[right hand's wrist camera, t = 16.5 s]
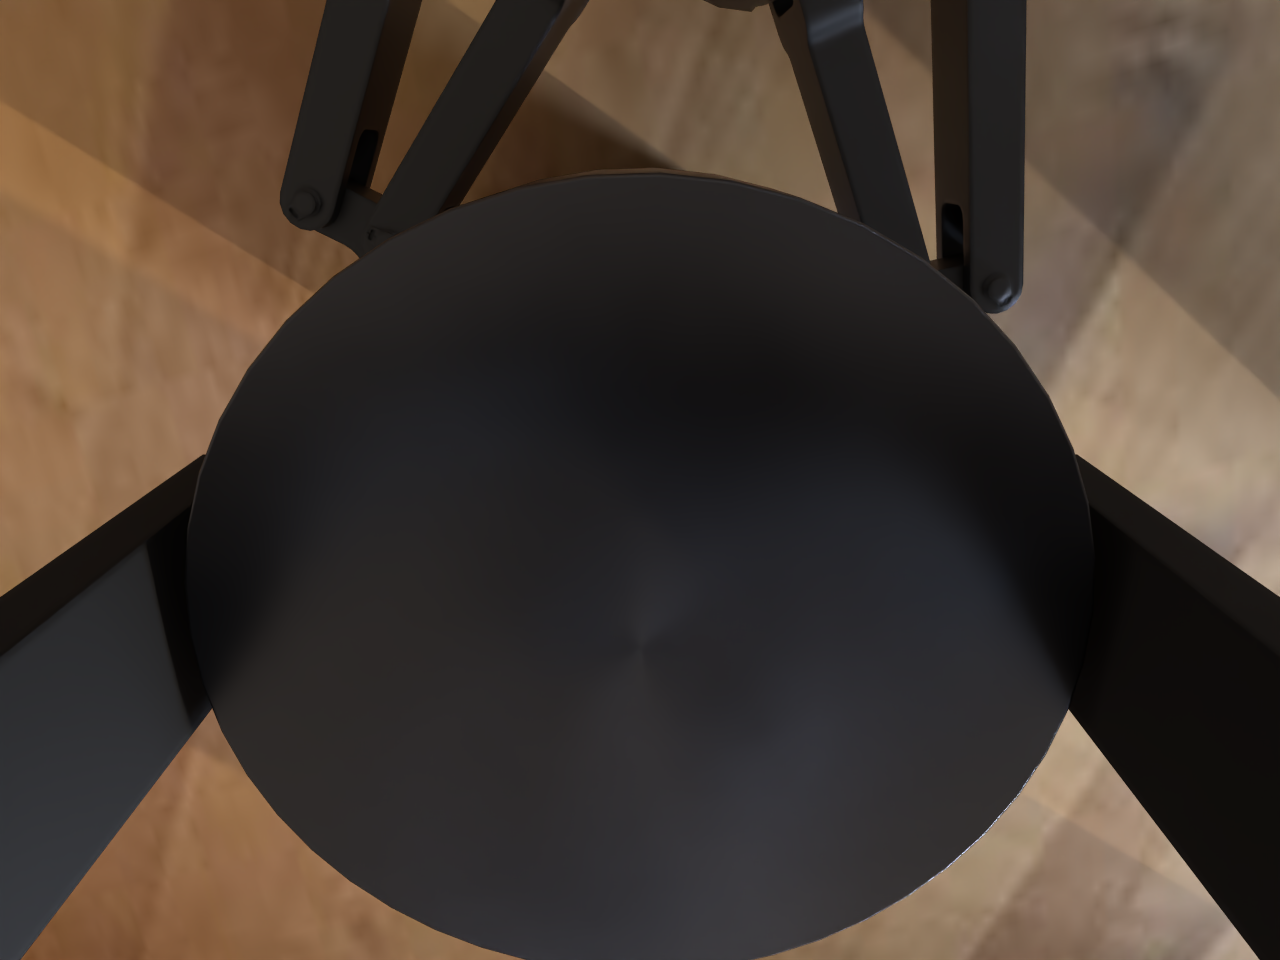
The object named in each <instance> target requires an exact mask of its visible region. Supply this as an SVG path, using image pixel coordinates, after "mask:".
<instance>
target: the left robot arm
mask: <svg viewBox="0 0 1280 960" xmlns="http://www.w3.org/2000/svg"><path fill="white" fill-rule="evenodd" d="M588 1H589V0H496V1H495V3H494V5H493V6H492V8H491V10H490V12H489V13H488V15H487V17H486V18H485V20H484V22H483V24H482V25H481V27H480V29H479V30H478V32H477V34H476V36H475V37H474V39H473V41H472V42H471V44H470V46H469V48H468V49H467V51H466V53H465V54H464V56H463V58H462V60H461V61H460V63H459V65H458V66H457V68H456V70H455V72H454V73H453V75H452V77H451V78H450V80H449V82H448V84H447V85H446V87H445V89H444V90H443V92H442V94H441V96H440V97H439V99H438V101H437V102H436V104H435V106H434V108H433V109H432V111H431V113H430V114H429V116H428V118H427V120H426V121H425V123H424V125H423V126H422V128H421V130H420V132H419V133H418V135H417V137H416V138H415V140H414V142H413V144H412V145H411V147H410V149H409V150H408V152H407V154H406V156H405V157H404V159H403V161H402V162H401V164H400V166H399V168H398V169H397V171H396V173H395V174H394V176H393V178H392V180H391V181H390V183H389V185H388V186H387V188H386V190H385V191H384V193H383V195H382V194H380V193H378V192H376V191H374V190H372V189H370V186H371V182H372V179H373V175H374V172H375V168H376V164H377V161H378V157H379V154H380V150H381V146H382V143H383V139H384V136H385V132H386V128H387V125H388V121H389V118H390V114H391V110H392V107H393V103H394V100H395V96H396V92H397V89H398V85H399V82H400V78H401V74H402V71H403V67H404V64H405V60H406V56H407V53H408V49H409V46H410V42H411V38H412V35H413V31H414V28H415V24H416V20H417V17H418V13H419V10H420V6H421V2H422V0H327V1H326V5H325V10H324V14H323V18H322V22H321V26H320V30H319V34H318V38H317V43H316V47H315V51H314V55H313V59H312V63H311V67H310V71H309V76H308V80H307V84H306V88H305V92H304V96H303V100H302V104H301V109H300V113H299V117H298V121H297V125H296V129H295V133H294V138H293V142H292V146H291V150H290V154H289V158H288V162H287V166H286V171H285V175H284V179H283V183H282V187H281V191H280V205H281V208H282V211H283V214H284V215H285V216H286V218H287V219H288V220H289V221H290V223H292V224H293V225H295V226H297V227H298V228H300V229H304V230H309V231H312V230H315V231H317V232H319V233H322V234H324V235H326V236H328V237H330V238H332V239H334V240H336V241H338V242H340V243H342V244H344V245H345V246H347V247H349V248H350V249H352V250H353V251H354V252H355V253H356V254H357V255H358V257H359V258H361V257H362V256H364V255H365V254H367V253H368V252H370V251H371V250H373V249H374V248H376V247H377V246H378V245H380V244H381V243H383V242H384V241H386V240H387V239H389V238H391V237H393V236H395V235H397V234H399V233H401V232H403V231H405V230H407V229H409V228H411V227H413V226H415V225H417V224H419V223H422V222H424V221H426V220H428V219H430V218H432V217H434V216H436V215H438V214H440V213H442V212H444V211H446V210H448V209H450V208H453V207H456V206H459V205H460V204H461V202H462V200H463V199H464V197H465V195H466V194H467V192H468V191H469V189H470V187H471V186H472V184H473V182H474V181H475V179H476V178H477V176H478V174H479V173H480V171H481V170H482V168H483V166H484V165H485V163H486V161H487V160H488V158H489V157H490V155H491V153H492V152H493V150H494V148H495V147H496V145H497V144H498V142H499V140H500V139H501V137H502V135H503V134H504V132H505V131H506V129H507V127H508V126H509V124H510V123H511V121H512V119H513V118H514V116H515V114H516V113H517V111H518V110H519V108H520V106H521V105H522V103H523V101H524V100H525V98H526V97H527V95H528V93H529V92H530V90H531V88H532V87H533V85H534V84H535V82H536V80H537V79H538V77H539V76H540V74H541V72H542V71H543V69H544V67H545V66H546V64H547V63H548V61H549V59H550V58H551V56H552V54H553V53H554V51H555V50H556V48H557V46H558V45H559V43H560V41H561V40H562V38H563V37H564V35H565V33H566V32H567V30H568V29H569V28H570V26H571V25H572V24H573V23H574V22H575V21H576V20H577V18H578V17H579V16H580V14H581V13H582V11H583V9H584V8H585V6H586V5H587V3H588ZM704 1H706V2H708V3H711V4H713V5H715V6H717V7H720V8H727V9H735V10H742V11H750V12H752V10H753V9H754V8H755V7H757V6H762V5H766V4H769V6H770V9H771V12H772V16H773V19H774V22H775V25H776V28H777V32H778V35H779V38H780V40H781V43H782V45H783V47H784V49H785V51H786V52H787V54H788V56H789V58H790V61H791V64H792V67H793V70H794V73H795V76H796V80H797V83H798V86H799V89H800V92H801V96H802V99H803V102H804V105H805V109H806V112H807V115H808V118H809V121H810V125H811V128H812V131H813V134H814V137H815V141H816V144H817V147H818V150H819V153H820V157H821V160H822V163H823V166H824V170H825V173H826V176H827V179H828V182H829V186H830V189H831V192H832V195H833V198H834V202H835V205H836V208H837V211H838V213H839V214H842V215H844V216H846V217H849V218H851V219H854V220H856V221H859V222H861V223H864V224H865V225H867V226H869V227H871V228H872V229H874V230H876V231H877V232H879V233H881V234H882V235H884V236H886V237H887V238H889V239H891V240H893V241H894V242H896V243H898V244H899V245H901V246H903V247H904V248H906V249H908V250H910V251H911V252H913V253H915V254H916V255H918V256H920V257H921V258H923V259H924V260H925V261H927V262H928V263H929V264H930V265H932V266H933V267H934V268H935V269H936V270H938V271H939V272H940V273H941V274H943V275H944V276H945V277H946V278H948V279H949V280H950V281H951V282H953V283H954V284H955V285H956V286H958V287H959V288H960V289H961V290H962V291H964V292H965V293H966V294H967V295H969V296H970V297H971V298H972V299H973V300H974V301H975V302H976V303H977V304H978V305H979V306H980V307H981V308H982V309H983V310H984V312H986V313H996V314H997V313H1000V312H1003V311H1006V310H1008V309H1009V308H1010V307H1011V306H1013V305H1014V304H1015V303H1016V301H1017V300H1018V298H1019V296H1020V295H1021V291H1022V287H1023V245H1024V162H1025V79H1026V0H931V31H932V73H933V116H934V158H935V201H936V243H937V259H936V260H931V261H930V260H929V256H928V253H927V249H926V246H925V242H924V239H923V235H922V231H921V228H920V224H919V221H918V217H917V214H916V210H915V206H914V203H913V199H912V196H911V192H910V188H909V185H908V181H907V178H906V174H905V171H904V167H903V163H902V160H901V156H900V153H899V149H898V146H897V142H896V138H895V135H894V131H893V128H892V124H891V121H890V117H889V113H888V110H887V106H886V103H885V99H884V96H883V92H882V88H881V85H880V81H879V78H878V74H877V71H876V67H875V63H874V60H873V56H872V53H871V49H870V46H869V42H868V38H867V35H866V31H865V27H864V22H863V10H864V6H863V0H704Z"/></svg>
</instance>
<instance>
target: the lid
mask: <svg viewBox="0 0 1280 960" xmlns="http://www.w3.org/2000/svg"><path fill="white" fill-rule="evenodd" d="M1094 583H1095V551H1094V543H1093V535H1092V527H1091V518H1090V510H1089V502H1088V499H1087V495H1086V492H1085V488H1084V485H1083V481H1082V478H1081V474H1080V470H1079V467H1078V463H1077V460H1076V456H1075V453H1074V449H1073V447H1072V445H1071V442H1070V440H1069V438H1068V436H1067V434H1066V432H1065V429H1064V427H1063V425H1062V423H1061V421H1060V419H1059V416H1058V414H1057V412H1056V410H1055V408H1054V406H1053V403H1052V401H1051V399H1050V397H1049V395H1048V394H1047V392H1046V391H1045V389H1044V388H1043V386H1042V385H1041V383H1040V382H1039V380H1038V379H1037V377H1036V376H1035V374H1034V373H1033V371H1032V370H1031V368H1030V367H1029V365H1028V364H1027V362H1026V360H1025V359H1024V357H1023V356H1022V354H1021V353H1020V351H1019V350H1018V348H1017V347H1016V345H1015V344H1014V343H1013V342H1012V341H1011V340H1010V339H1009V338H1008V337H1007V336H1006V335H1005V333H1004V332H1003V331H1002V330H1001V329H1000V328H999V327H998V326H997V325H996V324H995V323H994V321H993V320H992V319H991V318H990V317H989V316H988V315H987V314H986V313H985V312H984V310H983V309H982V308H981V307H980V306H979V305H978V304H977V303H976V302H975V301H974V300H973V299H972V298H971V297H970V296H969V295H967V294H966V293H965V292H964V291H962V290H961V289H960V288H959V287H958V286H956V285H955V284H954V283H953V282H951V281H950V280H949V279H948V278H946V277H945V276H944V275H943V274H941V273H940V272H939V271H938V270H936V269H935V268H934V267H933V266H932V265H930V264H929V263H928V262H927V261H925V260H924V259H923V258H921V257H920V256H918V255H916V254H915V253H913V252H911V251H910V250H908V249H906V248H904V247H903V246H901V245H899V244H898V243H896V242H894V241H893V240H891V239H889V238H887V237H886V236H884V235H882V234H881V233H879V232H877V231H876V230H874V229H872V228H871V227H869V226H867V225H865V224H864V223H861V222H859V221H856V220H854V219H851V218H849V217H846V216H844V215H842V214H839V213H837V212H834V211H832V210H829V209H827V208H824V207H822V206H820V205H817V204H815V203H812V202H810V201H807V200H805V199H802V198H800V197H797V196H794V195H791V194H787V193H784V192H781V191H778V190H775V189H771V188H768V187H764V186H760V185H756V184H752V183H748V182H744V181H740V180H736V179H732V178H728V177H724V176H720V175H716V174H708V173H699V172H690V171H681V170H671V169H662V168H636V169H605V170H593V171H587V172H581V173H575V174H570V175H564V176H558V177H552V178H547V179H541V180H537V181H534V182H531V183H528V184H525V185H521V186H518V187H515V188H512V189H509V190H506V191H503V192H500V193H497V194H494V195H490V196H487V197H484V198H481V199H478V200H475V201H472V202H469V203H466V204H463V205H459V206H456V207H453V208H450V209H448V210H446V211H444V212H442V213H440V214H438V215H436V216H434V217H432V218H430V219H428V220H426V221H424V222H422V223H419V224H417V225H415V226H413V227H411V228H409V229H407V230H405V231H403V232H401V233H399V234H397V235H395V236H393V237H391V238H389V239H387V240H386V241H384V242H383V243H381V244H380V245H378V246H377V247H376V248H374V249H373V250H371V251H370V252H368V253H367V254H365V255H364V256H362V257H361V258H359V259H358V260H357V261H355V262H354V263H352V264H351V265H349V266H348V267H346V268H345V269H343V270H342V271H340V272H339V273H338V274H336V275H335V276H333V277H332V278H331V279H330V280H329V281H328V282H327V283H326V284H325V285H324V286H322V287H321V288H320V289H319V290H318V291H317V292H316V293H315V294H314V295H313V296H312V297H311V298H310V299H308V300H307V301H306V302H305V303H304V304H303V305H302V306H301V307H300V308H299V309H298V310H297V311H296V312H295V313H293V314H292V315H291V316H290V317H289V318H288V319H287V320H286V321H285V322H284V324H283V325H282V326H281V328H280V329H279V330H278V331H277V333H276V334H275V335H274V336H273V338H272V339H271V340H270V341H269V343H268V344H267V345H266V346H265V348H264V349H263V350H262V351H261V353H260V354H259V355H258V357H257V358H256V359H255V360H254V362H253V363H252V364H251V365H250V367H249V368H248V369H247V371H246V373H245V375H244V377H243V378H242V380H241V382H240V384H239V385H238V387H237V389H236V391H235V392H234V394H233V396H232V398H231V399H230V401H229V403H228V405H227V407H226V408H225V410H224V412H223V414H222V415H221V417H220V419H219V421H218V424H217V426H216V429H215V432H214V434H213V437H212V440H211V442H210V445H209V448H208V450H207V453H206V456H205V458H204V461H203V464H202V466H201V469H200V471H199V475H198V480H197V484H196V489H195V494H194V499H193V504H192V509H191V513H190V518H189V523H188V528H187V547H186V567H185V590H186V600H187V610H188V620H189V629H190V637H191V640H192V644H193V648H194V652H195V656H196V660H197V664H198V668H199V672H200V676H201V680H202V684H203V687H204V689H205V691H206V694H207V696H208V699H209V701H210V704H211V706H212V708H213V711H214V713H215V716H216V718H217V721H218V723H219V726H220V728H221V730H222V732H223V734H224V736H225V738H226V739H227V741H228V743H229V745H230V746H231V748H232V750H233V752H234V753H235V755H236V757H237V758H238V760H239V762H240V764H241V765H242V767H243V769H244V771H245V772H246V774H247V776H248V777H249V778H250V780H251V781H252V782H253V783H254V785H255V786H256V787H257V789H258V790H259V791H260V793H261V794H262V795H263V797H264V798H265V799H266V800H267V802H268V803H269V804H270V806H271V807H272V808H273V810H274V811H275V812H276V814H277V815H278V816H279V817H280V818H281V819H282V820H283V821H284V822H285V823H286V824H287V825H288V826H289V827H290V828H291V829H292V830H293V831H294V832H295V833H296V834H297V835H298V836H299V837H300V838H301V839H302V840H303V842H304V843H305V844H306V845H307V846H308V847H309V848H310V849H311V850H312V851H314V852H315V853H316V854H317V855H319V856H320V857H321V858H322V859H323V860H325V861H326V862H327V863H328V864H330V865H331V866H332V867H333V868H335V869H336V870H337V871H338V872H339V873H341V874H342V875H343V876H344V877H346V878H347V879H348V880H349V881H351V882H352V883H354V884H355V885H357V886H358V887H360V888H362V889H363V890H365V891H366V892H368V893H369V894H371V895H372V896H374V897H375V898H377V899H379V900H380V901H382V902H383V903H385V904H386V905H388V906H389V907H391V908H393V909H395V910H397V911H399V912H401V913H403V914H405V915H407V916H409V917H411V918H413V919H415V920H417V921H419V922H421V923H423V924H425V925H427V926H429V927H431V928H433V929H435V930H437V931H439V932H442V933H445V934H447V935H450V936H453V937H455V938H458V939H460V940H463V941H466V942H468V943H471V944H473V945H476V946H479V947H481V948H485V949H489V950H492V951H496V952H500V953H503V954H507V955H511V956H514V957H518V958H522V959H525V960H753V959H758V958H762V957H767V956H771V955H775V954H778V953H781V952H784V951H788V950H791V949H794V948H797V947H800V946H803V945H806V944H809V943H812V942H816V941H819V940H821V939H824V938H826V937H828V936H830V935H833V934H835V933H837V932H840V931H842V930H844V929H847V928H849V927H851V926H853V925H856V924H858V923H860V922H863V921H865V920H867V919H868V918H870V917H872V916H874V915H876V914H877V913H879V912H881V911H883V910H884V909H886V908H888V907H890V906H891V905H893V904H895V903H897V902H899V901H900V900H902V899H904V898H906V897H907V896H909V895H910V894H912V893H913V892H914V891H916V890H917V889H919V888H920V887H921V886H923V885H924V884H926V883H927V882H928V881H930V880H931V879H933V878H934V877H935V876H937V875H938V874H940V873H941V872H942V871H944V870H945V869H947V868H948V867H949V866H950V865H951V864H952V863H954V862H955V861H956V860H957V859H958V858H959V857H960V856H961V855H962V854H963V853H965V852H966V851H967V850H968V849H969V848H970V847H971V846H972V845H973V844H975V843H976V842H977V841H978V840H979V839H980V838H981V837H982V836H983V835H984V834H985V833H986V832H987V831H988V830H989V829H990V828H991V827H992V825H993V824H994V823H995V822H996V821H997V820H998V819H999V817H1000V816H1001V815H1002V814H1003V813H1004V812H1005V810H1006V809H1007V808H1008V807H1009V806H1010V805H1011V804H1012V802H1013V801H1014V800H1015V799H1016V798H1017V797H1018V795H1019V794H1020V792H1021V791H1022V789H1023V788H1024V786H1025V785H1026V783H1027V782H1028V780H1029V779H1030V777H1031V776H1032V775H1033V773H1034V772H1035V770H1036V769H1037V767H1038V766H1039V764H1040V763H1041V761H1042V760H1043V758H1044V757H1045V755H1046V753H1047V751H1048V749H1049V747H1050V745H1051V743H1052V741H1053V739H1054V737H1055V735H1056V733H1057V731H1058V729H1059V727H1060V725H1061V723H1062V721H1063V719H1064V717H1065V715H1066V713H1067V711H1068V709H1069V706H1070V703H1071V700H1072V697H1073V694H1074V691H1075V688H1076V685H1077V682H1078V679H1079V676H1080V673H1081V670H1082V667H1083V664H1084V660H1085V655H1086V649H1087V644H1088V639H1089V633H1090V628H1091V622H1092V617H1093V611H1094Z"/></svg>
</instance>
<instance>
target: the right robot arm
mask: <svg viewBox="0 0 1280 960" xmlns="http://www.w3.org/2000/svg"><path fill="white" fill-rule="evenodd" d="M205 456H206V455H202V456H200V457H199V458H197V459H196V460H195V461H193V462H192V463H190V464H189V465H187V466H186V467H185V468H183V469H182V470H180V471H179V472H178V473H176V474H175V475H173V476H172V477H170V478H169V479H168V480H166V481H165V482H163V483H162V484H160V485H159V486H158V487H156V488H155V489H153V490H152V491H151V492H149V493H148V494H146V495H145V496H143V497H142V498H141V499H139V500H138V501H136V502H135V503H133V504H132V505H131V506H129V507H128V508H126V509H125V510H124V511H122V512H121V513H119V514H118V515H116V516H115V517H114V518H112V519H111V520H109V521H108V522H106V523H105V524H104V525H102V526H101V527H99V528H98V529H97V530H95V531H94V532H92V533H91V534H89V535H88V536H87V537H85V538H84V539H82V540H81V541H79V542H78V543H77V544H75V545H74V546H72V547H71V548H70V549H68V550H67V551H65V552H64V553H62V554H61V555H60V556H58V557H57V558H55V559H54V560H52V561H51V562H50V563H48V564H47V565H45V566H44V567H43V568H41V569H40V570H38V571H37V572H35V573H34V574H33V575H31V576H30V577H28V578H27V579H25V580H24V581H23V582H21V583H20V584H18V585H17V586H16V587H14V588H13V589H11V590H10V591H8V592H7V593H6V594H4V595H3V596H1V597H0V960H20V959H21V958H22V957H23V955H24V954H25V953H26V952H27V950H28V949H29V948H30V946H31V945H32V944H33V942H34V941H35V940H36V938H37V937H38V936H39V935H40V933H41V932H42V931H43V929H44V928H45V927H46V925H47V924H48V923H49V921H50V920H51V919H52V917H53V916H54V915H55V914H56V912H57V911H58V910H59V908H60V907H61V906H62V904H63V903H64V902H65V900H66V899H67V898H68V896H69V895H70V894H71V893H72V891H73V890H74V889H75V887H76V886H77V885H78V883H79V882H80V881H81V879H82V878H83V877H84V875H85V874H86V873H87V872H88V870H89V869H90V868H91V866H92V865H93V864H94V862H95V861H96V860H97V858H98V857H99V856H100V855H101V853H102V852H103V851H104V849H105V848H106V847H107V845H108V844H109V843H110V841H111V840H112V839H113V837H114V836H115V835H116V834H117V832H118V831H119V830H120V828H121V827H122V826H123V824H124V823H125V822H126V820H127V819H128V818H129V816H130V815H131V814H132V813H133V811H134V810H135V809H136V807H137V806H138V805H139V803H140V802H141V801H142V799H143V798H144V797H145V795H146V794H147V793H148V792H149V790H150V789H151V788H152V786H153V785H154V784H155V782H156V781H157V780H158V778H159V777H160V776H161V775H162V773H163V772H164V771H165V769H166V768H167V767H168V765H169V764H170V763H171V761H172V760H173V759H174V757H175V756H176V755H177V754H178V752H179V751H180V750H181V748H182V747H183V746H184V744H185V743H186V742H187V740H188V739H189V738H190V736H191V735H192V734H193V733H194V731H195V730H196V729H197V727H198V726H199V725H200V723H201V722H202V721H203V719H204V718H205V717H206V715H207V714H208V713H209V712H210V710H211V709H212V706H211V704H210V701H209V699H208V696H207V694H206V691H205V689H204V687H203V684H202V680H201V676H200V672H199V668H198V664H197V660H196V656H195V652H194V648H193V644H192V640H191V637H190V629H189V620H188V610H187V600H186V590H185V567H186V547H187V528H188V523H189V518H190V513H191V509H192V504H193V499H194V494H195V489H196V484H197V480H198V475H199V471H200V469H201V466H202V464H203V461H204V458H205ZM1075 456H1076V460H1077V463H1078V467H1079V470H1080V474H1081V478H1082V481H1083V485H1084V488H1085V492H1086V495H1087V499H1088V502H1089V510H1090V518H1091V527H1092V535H1093V543H1094V551H1095V583H1094V611H1093V617H1092V622H1091V628H1090V633H1089V639H1088V644H1087V649H1086V655H1085V660H1084V664H1083V667H1082V670H1081V673H1080V676H1079V679H1078V682H1077V685H1076V688H1075V691H1074V694H1073V697H1072V700H1071V703H1070V706H1069V710H1070V712H1071V713H1072V714H1073V715H1074V717H1075V718H1076V719H1077V721H1078V722H1079V723H1080V725H1081V726H1082V727H1083V729H1084V730H1085V731H1086V733H1087V734H1088V735H1089V736H1090V738H1091V739H1092V740H1093V742H1094V743H1095V744H1096V746H1097V747H1098V748H1099V750H1100V751H1101V752H1102V753H1103V755H1104V756H1105V757H1106V759H1107V760H1108V761H1109V763H1110V764H1111V765H1112V767H1113V768H1114V769H1115V771H1116V772H1117V773H1118V774H1119V776H1120V777H1121V778H1122V780H1123V781H1124V782H1125V784H1126V785H1127V786H1128V788H1129V789H1130V790H1131V792H1132V793H1133V794H1134V795H1135V797H1136V798H1137V799H1138V801H1139V802H1140V803H1141V805H1142V806H1143V807H1144V809H1145V810H1146V811H1147V813H1148V814H1149V815H1150V816H1151V818H1152V819H1153V820H1154V822H1155V823H1156V824H1157V826H1158V827H1159V828H1160V830H1161V831H1162V832H1163V833H1164V835H1165V836H1166V837H1167V839H1168V840H1169V841H1170V843H1171V844H1172V845H1173V847H1174V848H1175V849H1176V851H1177V852H1178V853H1179V854H1180V856H1181V857H1182V858H1183V860H1184V861H1185V862H1186V864H1187V865H1188V866H1189V868H1190V869H1191V870H1192V872H1193V873H1194V874H1195V875H1196V877H1197V878H1198V879H1199V881H1200V882H1201V883H1202V885H1203V886H1204V887H1205V889H1206V890H1207V891H1208V893H1209V894H1210V895H1211V896H1212V898H1213V899H1214V900H1215V902H1216V903H1217V904H1218V906H1219V907H1220V908H1221V910H1222V911H1223V912H1224V913H1225V915H1226V916H1227V917H1228V919H1229V920H1230V921H1231V923H1232V924H1233V925H1234V927H1235V928H1236V929H1237V931H1238V932H1239V933H1240V934H1241V936H1242V937H1243V938H1244V940H1245V941H1246V942H1247V944H1248V945H1249V946H1250V948H1251V949H1252V950H1253V952H1254V953H1255V954H1256V955H1257V957H1258V958H1259V959H1260V960H1280V597H1279V596H1277V595H1276V594H1274V593H1273V592H1272V591H1270V590H1269V589H1267V588H1266V587H1264V586H1263V585H1262V584H1260V583H1259V582H1257V581H1256V580H1255V579H1253V578H1252V577H1250V576H1249V575H1247V574H1246V573H1245V572H1243V571H1242V570H1240V569H1239V568H1237V567H1236V566H1235V565H1233V564H1232V563H1230V562H1229V561H1228V560H1226V559H1225V558H1223V557H1222V556H1220V555H1219V554H1218V553H1216V552H1215V551H1213V550H1212V549H1210V548H1209V547H1208V546H1206V545H1205V544H1203V543H1202V542H1201V541H1199V540H1198V539H1196V538H1195V537H1193V536H1192V535H1191V534H1189V533H1188V532H1186V531H1185V530H1183V529H1182V528H1181V527H1179V526H1178V525H1176V524H1175V523H1174V522H1172V521H1171V520H1169V519H1168V518H1166V517H1165V516H1164V515H1162V514H1161V513H1159V512H1158V511H1157V510H1155V509H1154V508H1152V507H1151V506H1149V505H1148V504H1147V503H1145V502H1144V501H1142V500H1141V499H1139V498H1138V497H1137V496H1135V495H1134V494H1132V493H1131V492H1130V491H1128V490H1127V489H1125V488H1124V487H1122V486H1121V485H1120V484H1118V483H1117V482H1115V481H1114V480H1112V479H1111V478H1110V477H1108V476H1107V475H1105V474H1104V473H1103V472H1101V471H1100V470H1098V469H1097V468H1095V467H1094V466H1093V465H1091V464H1090V463H1088V462H1087V461H1085V460H1084V459H1083V458H1081V457H1080V456H1078V455H1075Z"/></svg>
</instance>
